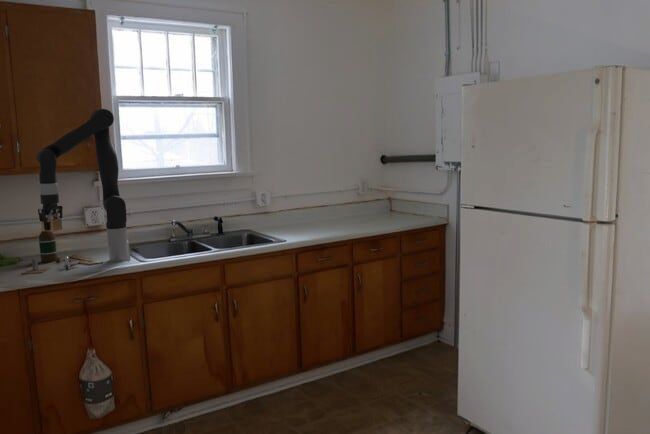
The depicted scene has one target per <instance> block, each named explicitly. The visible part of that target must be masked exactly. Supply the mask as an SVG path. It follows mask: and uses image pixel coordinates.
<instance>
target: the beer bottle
mask: <svg viewBox="0 0 650 434" xmlns="http://www.w3.org/2000/svg"><path fill="white" fill-rule="evenodd" d="M42 219H43V217H42ZM46 219H47V218H46ZM56 243H57V242H56V235H55V234H54V232H53V231H42V230H41V231H40V233H39V237H38V244H39V252H40V254H39V255H40V260H41V263H43V264H48V263H54V262H57V261H58V251H57V244H56Z"/></svg>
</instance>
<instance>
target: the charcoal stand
mask: <svg viewBox="0 0 650 434" xmlns="http://www.w3.org/2000/svg"><path fill="white" fill-rule="evenodd" d="M64 265H65V267H61V268H58V269H56V271H65V272H67V271H72V270H75V269H78V268H79V267H78V266H70V262H69V257H68V256H65V257H64Z"/></svg>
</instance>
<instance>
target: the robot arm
mask: <svg viewBox="0 0 650 434" xmlns="http://www.w3.org/2000/svg"><path fill="white" fill-rule="evenodd" d="M89 117H90V118H89V119H88V120H87V121H86V122H84V123H83V124H81V125H80V126H77V127H76V128H74V129H72V130H71V131H69V132H67V133H65V134H63V135H62V136H61V137H59V138H58V139H57V140H55V141H54V142H52V143H51V144H49V145H47V146H46V147H45V146H44V147H43V148H42V149H40V150H39V151H38V152H37V154H36V156H35V157H36V161H37V162H38V163H39V165H40V166H39V168H40V169H39V170H40V171H39V174H38V177H39V194H40V195H39V197H40V204H41V205H42V208H38V209H37V214H38V217H39V221H40V223H41V222H44V229H45V231H49V230H50V225H49V220H50V219H61V220H62V219H63V209H64V208H63V205H58V204H59V203H60V199H59V198H60V197H59V187H58V180H57V178H58V177H57V162H58V161H57V159H58V158H59V157H61V156H63V155H66V154H67V153H69V152H70V151H72V150H74V149H75V148H76V147H78V146H79V145H80V144H81V143H83V142H84V141H86V140H87V139H88V138H90V137H92V136H93V137H94V142H95V151H96V161H97V167H98V172H99V177H100V182H101V186H102V205H103V209H104V210H105V211H106V212H105V213H106V223H105V225H106V226H105V227H106V236H107V237H106V238H107V249H108V257H109V258H108V259H109V262H111V263H114V262H115V263H117V262H129V261H130V260H131V250H130V243H129V242H130V241H128V233H127V221H128V220H127V219H128V218H127V205H126V202H125V199H124V198H122V197H121V195H120V191H119V185H118V184H119V183H118V182H119V161H118V156H117V151H116V149H115V146H114V145H113V141H112V138H111V134H110V127H111V126H112V125H113V124H114V121H115V116H114V114H113V112H112V111H111V110H109V109H107V108H99V109H98V108H97V109H96V110H93V111H92V112H91V114H90V116H89ZM42 217H43V219H42ZM46 218H47V220H46Z"/></svg>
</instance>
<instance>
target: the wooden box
mask: <svg viewBox="0 0 650 434" xmlns="http://www.w3.org/2000/svg"><path fill="white" fill-rule="evenodd" d="M31 264H32V268H31V267H30V268H27V269H26V270H25V271H22V272H21V275H30V274H31V275H33V274H34V275H35V274H44V273H45V272H47V271H48V270H49V269H50V267H39V265H38V258H37V257H34V258H33V257H32V258H31Z"/></svg>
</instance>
